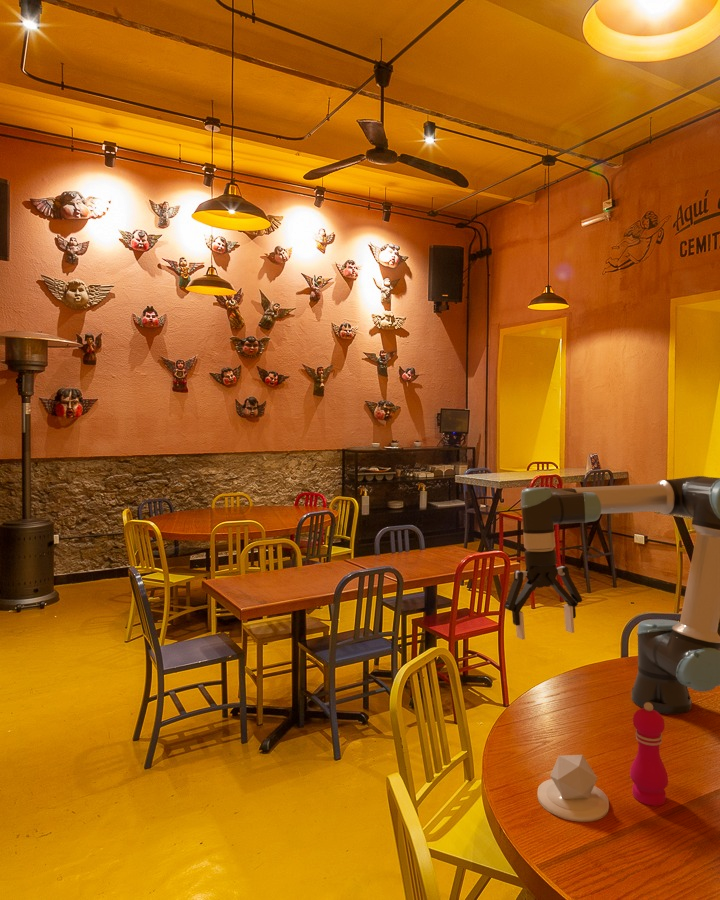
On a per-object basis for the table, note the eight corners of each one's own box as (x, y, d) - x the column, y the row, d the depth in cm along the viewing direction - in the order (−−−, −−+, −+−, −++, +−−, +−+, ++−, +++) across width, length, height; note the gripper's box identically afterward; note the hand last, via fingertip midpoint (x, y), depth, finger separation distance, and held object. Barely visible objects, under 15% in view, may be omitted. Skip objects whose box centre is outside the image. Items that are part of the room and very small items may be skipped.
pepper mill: (666, 811, 125) (665, 713, 125) (627, 800, 129) (626, 705, 129) (670, 793, 131) (669, 699, 131) (633, 784, 135) (632, 692, 135)
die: (590, 816, 124) (609, 769, 126) (551, 791, 125) (570, 745, 128) (576, 807, 131) (593, 763, 134) (539, 784, 132) (557, 741, 135)
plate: (582, 778, 138) (582, 772, 138) (623, 815, 124) (623, 809, 124) (525, 787, 135) (525, 782, 135) (560, 826, 121) (560, 821, 121)
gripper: (575, 543, 163) (581, 625, 162) (487, 552, 157) (493, 637, 156) (592, 546, 155) (598, 632, 155) (500, 555, 149) (506, 644, 149)
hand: (545, 635), depth 155 cm, fingers open, 13 cm apart
